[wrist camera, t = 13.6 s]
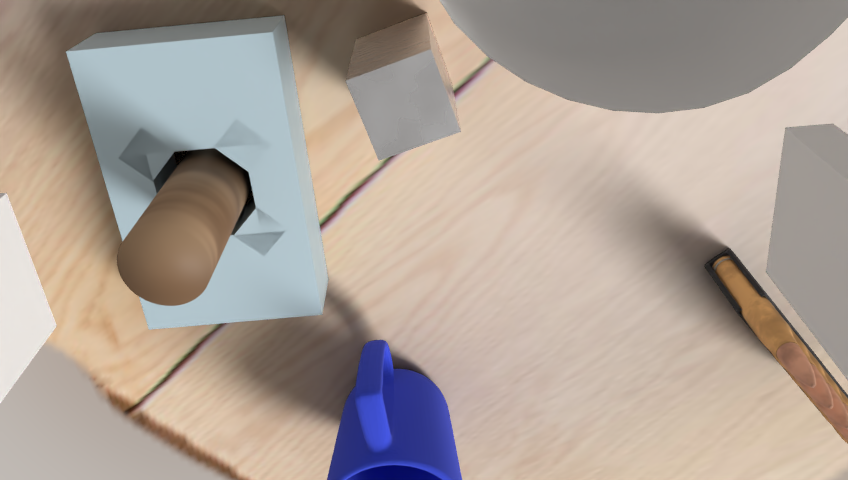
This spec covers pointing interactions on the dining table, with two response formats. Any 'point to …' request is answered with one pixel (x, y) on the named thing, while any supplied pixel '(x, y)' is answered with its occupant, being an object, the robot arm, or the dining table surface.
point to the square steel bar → (402, 87)
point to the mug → (393, 425)
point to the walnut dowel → (184, 229)
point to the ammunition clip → (781, 339)
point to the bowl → (647, 46)
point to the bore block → (202, 129)
